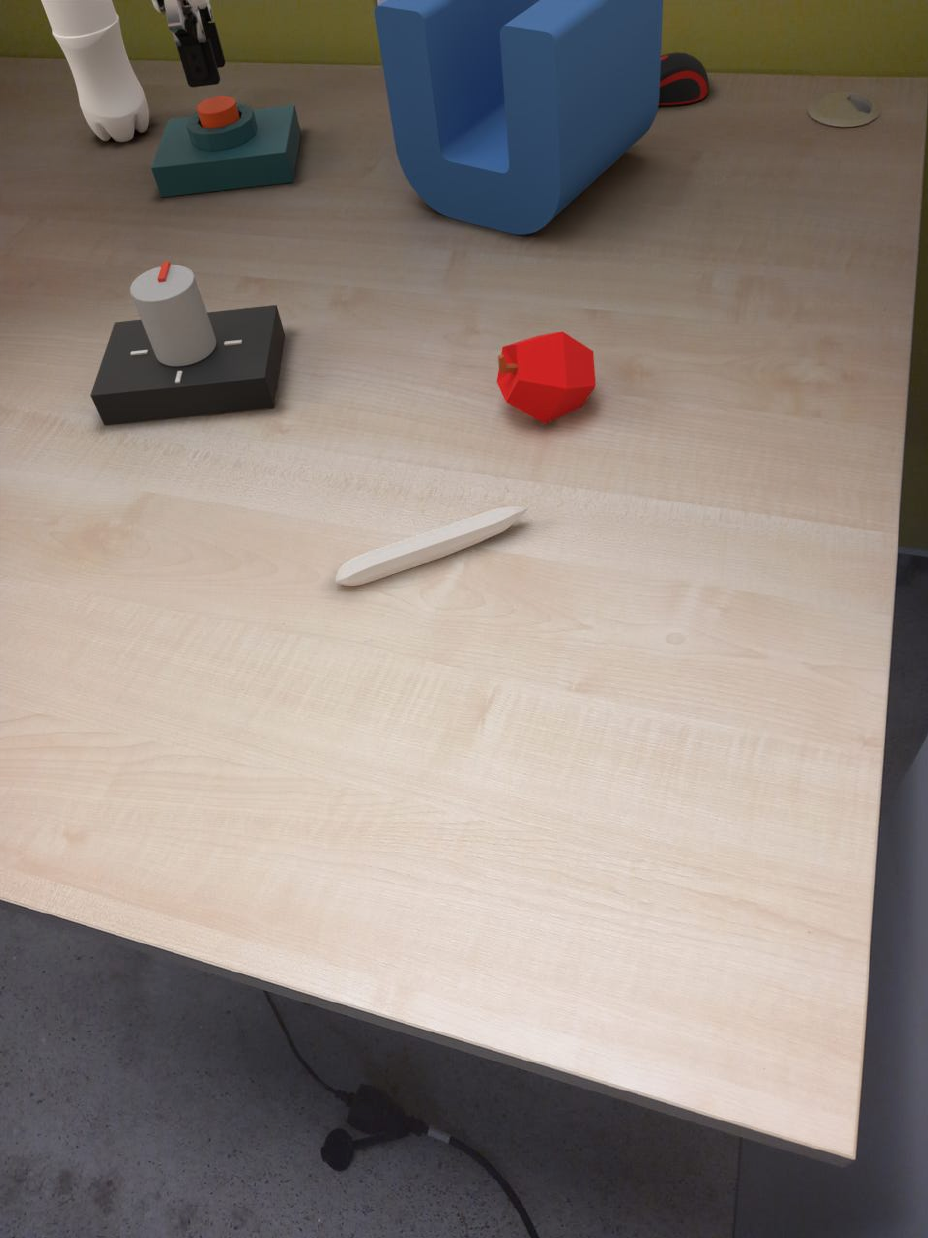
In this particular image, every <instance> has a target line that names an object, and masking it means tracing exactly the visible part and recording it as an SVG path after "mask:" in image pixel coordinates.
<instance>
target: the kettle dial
mask: <svg viewBox="0 0 928 1238" xmlns="http://www.w3.org/2000/svg"><path fill="white" fill-rule="evenodd" d="M198 285H199V284H198V282H197V279H196V277H195V273H194V271H192V269H191V268H189V267H187V266H184V265H179V264H171V263H170V261H162V263H161V266H156V267H153V268H151V269H148V270H146V271H144V272H143V273H141V274H140V275H138V276H137V277H136V278H135V279H134V280H133V281H132V283H130V287H129V292H130V295H131V298H132V300H133V303H134V306H135V309H136V311H137V312H138V316H139V318H140V320H142V323H143V325H144V328H145V330H146V333H147V335H148V338H149V340H150V343H151V345H152V348H153V350H154V353H155V355H156V358H157V359H158V360H159V361H160V362H161V363H163V364H165V365H168V366H177V367H178V366H186V365H190V364H194V363H196V362H199V361H201V360H203V359H204V358H206V357H207V356H208V355H210V354H211V353H212V351H213V350H214V348H215V346H216V338H215V335H214V332H213V329H212V326H211V323H210V320H209V317H208V314H207V308H206V306H205V302H204V300H203V297H202V294H201V292H200V287H199V286H198Z"/></svg>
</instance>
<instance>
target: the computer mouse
mask: <svg viewBox="0 0 928 1238" xmlns="http://www.w3.org/2000/svg"><path fill="white" fill-rule="evenodd" d="M709 89H710V84H709V77H708V73H707V70H706V68H705V67H704V65H703V63H702V62H701V61H700V60H699V59H698V58H697V57H695V56H693V55H691V54H689V53H687V52H678V51H677V52H669V53H665V54H661V70H660V96H659V106H658V108H660V107H678V106H686V105H692V104H695V103H698V102H700V101H702V100H704V99H705V98H706V96H707V95H708V93H709Z"/></svg>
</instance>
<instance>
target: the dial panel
mask: <svg viewBox="0 0 928 1238" xmlns="http://www.w3.org/2000/svg"><path fill="white" fill-rule="evenodd" d="M207 314H208V317H209V320H210V323H211V326H212V329H213V332H214V335H215V338H216V346H215V348H214V350H213V351H212V353H211V354H210V355H208V356H207V357H206V358H204V359H203V360H201V361H199V362H196V363H194V364H190V365H186V366H178V367H177V366H168V365H165V364H163V363H161V362H160V361H159V360H158V359H157V358H156V355H155V353H154V350H153V348H152V345H151V343H150V340H149V338H148V335H147V333H146V330H145V328H144V325H143V323H142V320H141V319H133V320H124V321H115V322H114V324H113V327H112V330H111V333H110V335H109V339H108V342H107V345H106V348H105V350H104V354H103V356H102V359H101V362H100V366H99V368H98V371H97V374H96V377H95V380H94V383H93V386H92V388H91V392H90V398H91V400H92V403H93V405H94V406H95V408H96V412H97V413H98V416H99V417H100V419H101V421H102V423H103V425H104V426H109V425H120V424H129V423H139V422H149V421H158V420H159V421H160V420H169V419H179V418H189V417H198V416H207V415H209V416H210V415H219V414H227V413H238V412H239V413H240V412H248V411H258V410H269V409H274V408H275V406H276V405H275V404H276V399H277V398H276V396H277V390H278V384H279V377H280V371H281V365H282V357H283V351H284V344H285V338H286V333H285V330H284V326H283V323H282V318H281V315H280V312H279V309H278V305H277V304H272V305H264V306H255V307H254V306H253V307H245V308H235V309H226V310H217V311H216V310H215V311H208V312H207Z"/></svg>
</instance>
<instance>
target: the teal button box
mask: <svg viewBox="0 0 928 1238" xmlns="http://www.w3.org/2000/svg"><path fill="white" fill-rule="evenodd" d="M236 105H237V109H238V113H239V117H240V119H239V120H237V121H236V122H235V123H233V124H230V125H227V126H225V127H221V128H212V129H210V128H204V127H202V124H201V121H200V118H199V114H198V111H196V112H195V113H194V114H192V115H191V116H188V117H180V118H171V119H168V120H167V123H166V125H165V128H164V131H163V133H162V136H161V139H160V141H159V145H158V147H157V150H156V153H155V156H154V159H153V161H152V164H151V167H150V169H151V172H152V175H153V178H154V181H155V184H156V188H157V189H158V193H159V195H160V197H161V198H167V197H177V196H185V195H194V194H195V195H196V194H203V193H212V192H220V191H229V190H236V189H237V190H239V189H247V188H255V187H264V186H271V185H272V186H273V185H281V184H289V183H290V184H291V183H293V182H294V176H295V171H296V165H297V159H298V153H299V147H300V141H301V136H302V131H301V127H300V123H299V119H298V118H299V117H298V114H297V110H296V105H295V104H288V105H278V106H271V107H263V108H262V107H261V108H254V109H253V108H251V106H249V105H247V104H246V103H239V102H236Z"/></svg>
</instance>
